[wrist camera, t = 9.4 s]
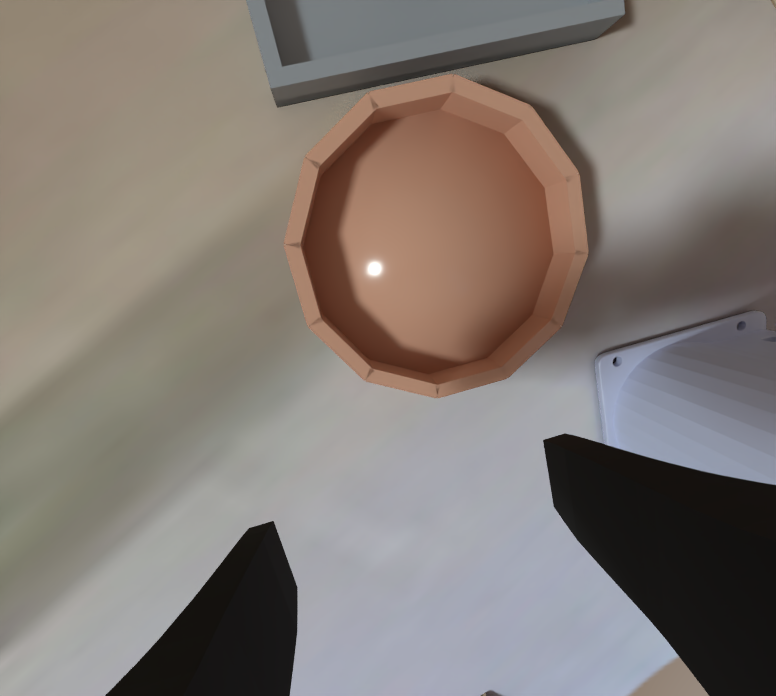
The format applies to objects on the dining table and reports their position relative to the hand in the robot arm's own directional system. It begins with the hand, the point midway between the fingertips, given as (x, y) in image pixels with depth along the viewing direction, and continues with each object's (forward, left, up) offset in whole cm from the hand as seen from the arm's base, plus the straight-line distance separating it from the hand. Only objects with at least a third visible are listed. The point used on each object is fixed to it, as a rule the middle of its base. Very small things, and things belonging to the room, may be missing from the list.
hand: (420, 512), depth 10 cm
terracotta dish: (-4, -6, -9) cm, 12 cm away
